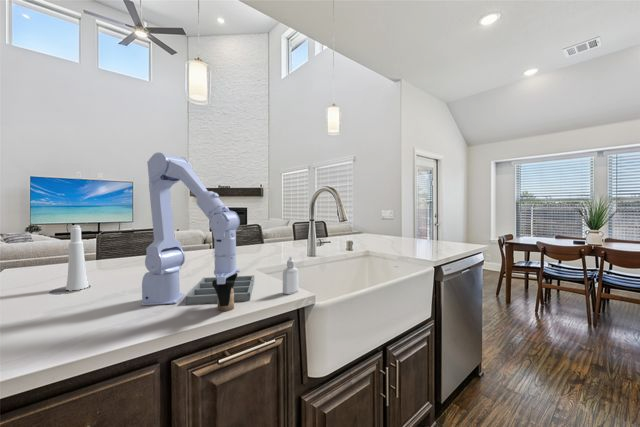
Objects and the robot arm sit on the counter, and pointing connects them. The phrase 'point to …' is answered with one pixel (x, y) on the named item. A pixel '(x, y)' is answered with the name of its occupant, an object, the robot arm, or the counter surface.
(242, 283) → the grey compartment tray
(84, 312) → the counter surface
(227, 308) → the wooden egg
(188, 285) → the counter surface
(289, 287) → the eye dropper bottle
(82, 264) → the cosmetic bottle
